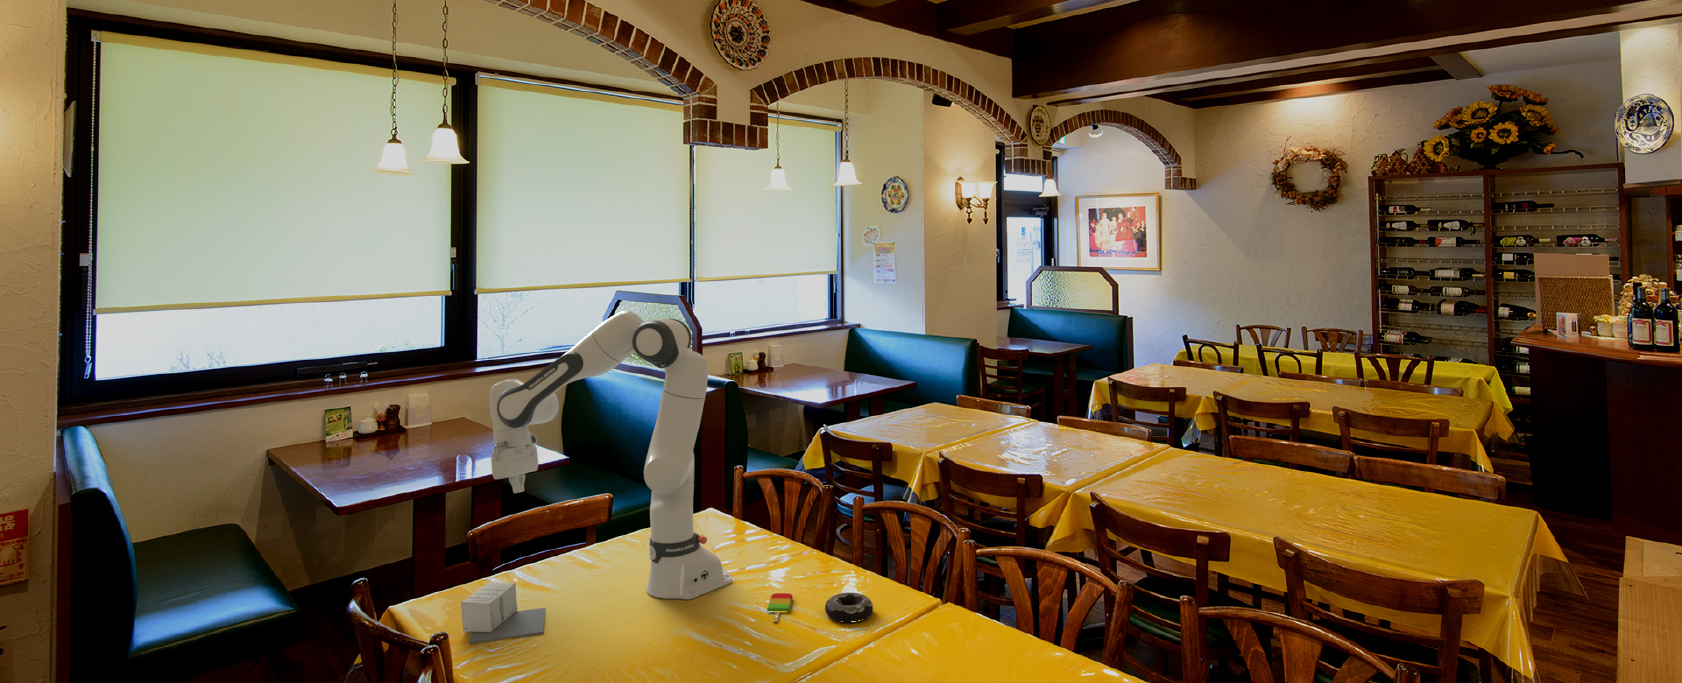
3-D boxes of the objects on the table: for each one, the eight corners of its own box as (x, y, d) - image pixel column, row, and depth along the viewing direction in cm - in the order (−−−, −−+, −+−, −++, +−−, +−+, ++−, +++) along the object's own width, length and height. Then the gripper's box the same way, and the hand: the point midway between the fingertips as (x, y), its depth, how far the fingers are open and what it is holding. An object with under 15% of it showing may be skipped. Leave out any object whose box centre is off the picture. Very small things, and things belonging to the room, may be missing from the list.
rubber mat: (475, 618, 202) (475, 616, 202) (545, 609, 207) (545, 607, 207) (468, 644, 189) (468, 641, 189) (543, 633, 194) (543, 631, 194)
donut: (864, 602, 209) (864, 587, 209) (879, 622, 198) (879, 606, 197) (820, 608, 206) (819, 593, 206) (832, 628, 195) (832, 612, 194)
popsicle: (793, 599, 212) (793, 592, 212) (786, 625, 197) (786, 618, 197) (771, 599, 213) (771, 592, 212) (763, 625, 198) (763, 617, 197)
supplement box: (518, 610, 205) (491, 633, 193) (490, 608, 206) (461, 632, 194) (517, 581, 204) (489, 603, 192) (488, 580, 205) (459, 602, 193)
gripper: (505, 441, 210) (512, 495, 209) (539, 436, 231) (545, 485, 230) (481, 445, 210) (488, 499, 210) (517, 440, 231) (524, 489, 230)
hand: (519, 492), depth 220 cm, fingers closed
